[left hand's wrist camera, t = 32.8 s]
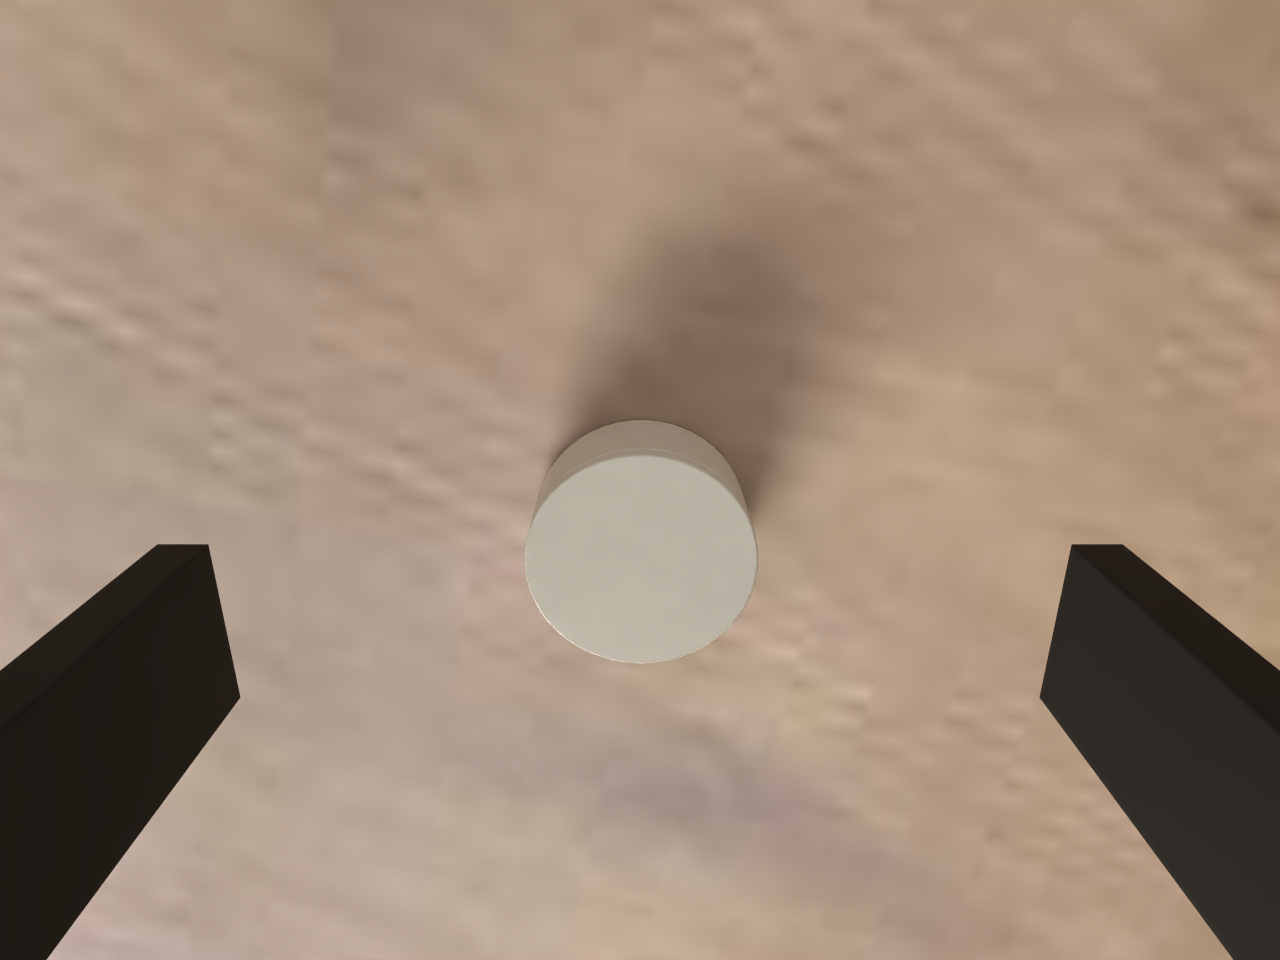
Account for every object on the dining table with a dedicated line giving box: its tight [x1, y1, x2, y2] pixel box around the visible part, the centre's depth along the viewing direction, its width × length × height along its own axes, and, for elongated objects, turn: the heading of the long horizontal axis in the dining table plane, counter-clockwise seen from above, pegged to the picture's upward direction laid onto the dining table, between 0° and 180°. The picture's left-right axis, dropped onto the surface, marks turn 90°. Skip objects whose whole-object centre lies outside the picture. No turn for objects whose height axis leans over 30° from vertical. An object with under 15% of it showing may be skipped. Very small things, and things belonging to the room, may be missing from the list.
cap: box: [524, 420, 758, 663], centre depth 15 cm, size 4×4×2 cm
